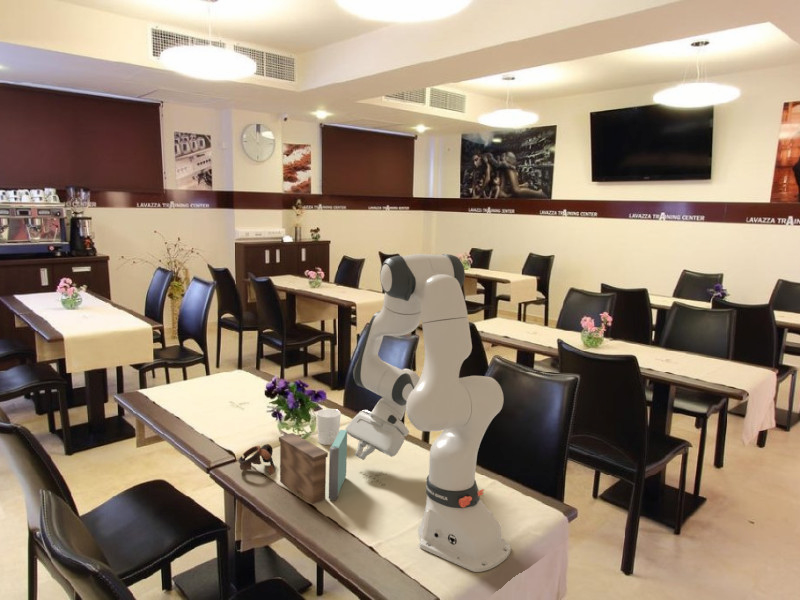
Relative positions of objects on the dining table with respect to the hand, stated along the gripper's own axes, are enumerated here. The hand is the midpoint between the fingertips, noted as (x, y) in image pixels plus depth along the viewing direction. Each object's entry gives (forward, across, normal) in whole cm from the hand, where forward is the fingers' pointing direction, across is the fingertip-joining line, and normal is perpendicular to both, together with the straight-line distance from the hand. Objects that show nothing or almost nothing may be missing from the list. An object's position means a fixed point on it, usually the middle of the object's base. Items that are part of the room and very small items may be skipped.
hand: (359, 457), depth 162 cm
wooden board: (+16, -3, -8) cm, 19 cm away
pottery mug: (+18, -21, -10) cm, 30 cm away
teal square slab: (+10, +2, -3) cm, 11 cm away
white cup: (-1, -25, +10) cm, 27 cm away
